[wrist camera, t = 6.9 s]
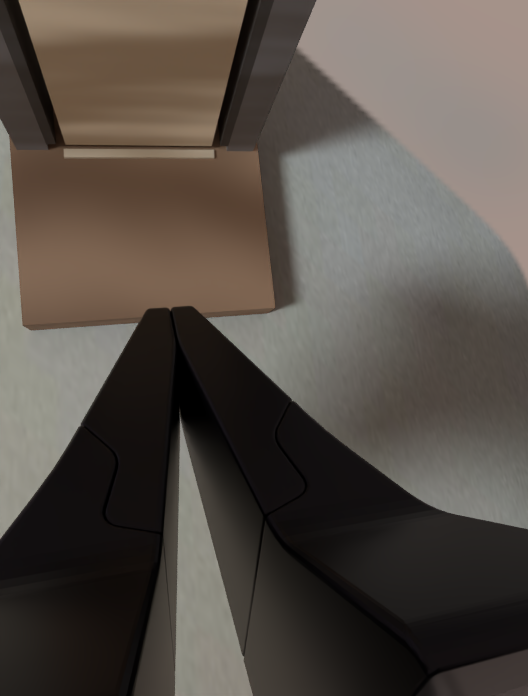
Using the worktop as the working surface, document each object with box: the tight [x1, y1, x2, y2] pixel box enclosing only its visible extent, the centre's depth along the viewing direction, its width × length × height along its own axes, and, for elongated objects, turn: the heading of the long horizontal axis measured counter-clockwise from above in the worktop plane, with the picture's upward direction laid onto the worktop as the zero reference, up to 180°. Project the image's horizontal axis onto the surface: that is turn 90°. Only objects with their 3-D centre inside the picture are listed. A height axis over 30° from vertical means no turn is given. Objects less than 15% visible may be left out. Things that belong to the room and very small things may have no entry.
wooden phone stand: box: [0, 0, 316, 330], centre depth 14 cm, size 8×9×10 cm
